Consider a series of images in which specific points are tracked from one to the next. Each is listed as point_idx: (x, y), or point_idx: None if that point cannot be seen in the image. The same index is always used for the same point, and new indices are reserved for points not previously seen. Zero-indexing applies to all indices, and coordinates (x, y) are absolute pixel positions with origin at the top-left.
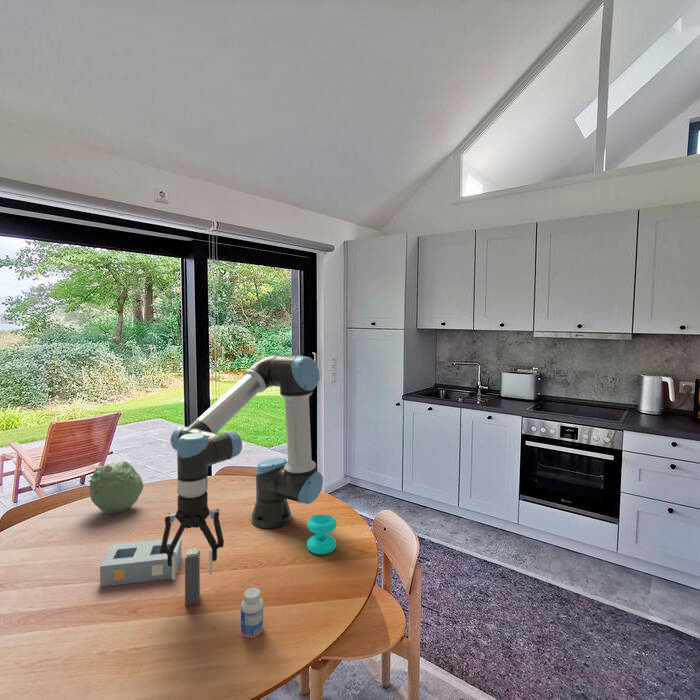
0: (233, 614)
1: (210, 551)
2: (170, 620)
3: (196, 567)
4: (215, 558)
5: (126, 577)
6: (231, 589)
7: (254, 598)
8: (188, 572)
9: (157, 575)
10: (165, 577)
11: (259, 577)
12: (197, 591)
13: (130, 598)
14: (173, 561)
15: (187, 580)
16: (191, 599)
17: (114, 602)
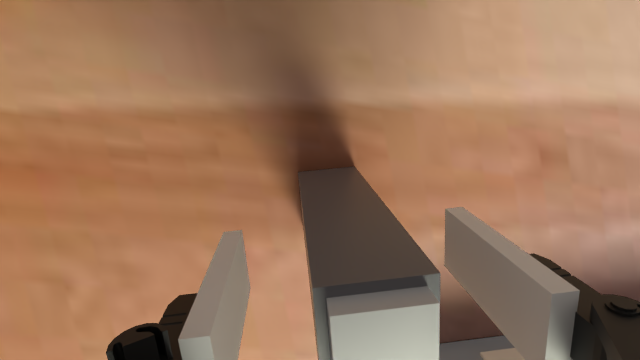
0: (122, 76)
1: (195, 338)
2: (398, 77)
3: (324, 240)
4: (177, 307)
5: None
6: (172, 254)
7: None
8: (374, 222)
9: (499, 350)
10: (463, 345)
11: (58, 325)
12: (307, 187)
13: (570, 236)
14: (524, 263)
15: (369, 204)
16: (331, 174)
17: (623, 219)
